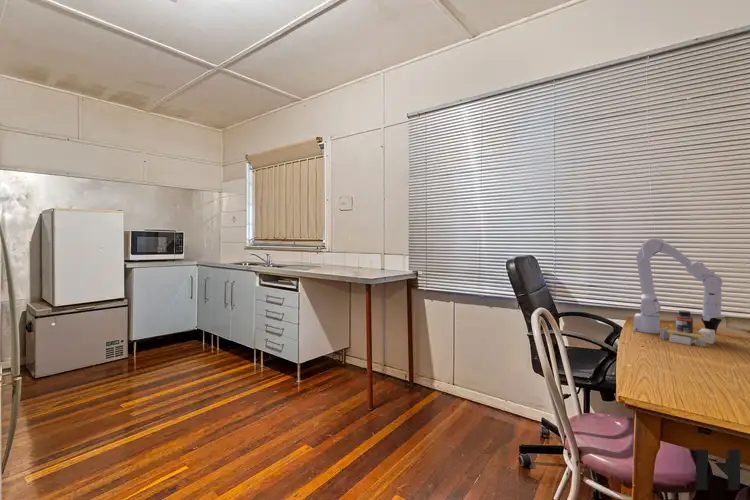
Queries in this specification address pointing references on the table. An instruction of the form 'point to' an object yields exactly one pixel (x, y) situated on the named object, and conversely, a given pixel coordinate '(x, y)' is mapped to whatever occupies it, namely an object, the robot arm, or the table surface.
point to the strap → (684, 333)
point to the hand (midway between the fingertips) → (710, 335)
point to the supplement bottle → (684, 322)
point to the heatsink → (682, 339)
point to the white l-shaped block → (707, 335)
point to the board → (665, 335)
